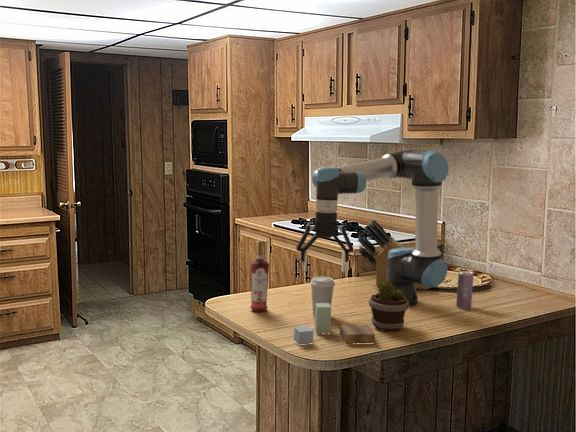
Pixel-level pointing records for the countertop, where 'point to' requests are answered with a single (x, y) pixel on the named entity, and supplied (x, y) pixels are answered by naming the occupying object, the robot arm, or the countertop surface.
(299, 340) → the blue-grey cube
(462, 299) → the beverage can
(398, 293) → the flowerpot
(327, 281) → the coffee cup
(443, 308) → the countertop surface
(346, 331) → the walnut block
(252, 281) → the liquor
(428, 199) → the robot arm
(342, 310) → the countertop surface
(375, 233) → the knife block
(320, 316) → the sage block
